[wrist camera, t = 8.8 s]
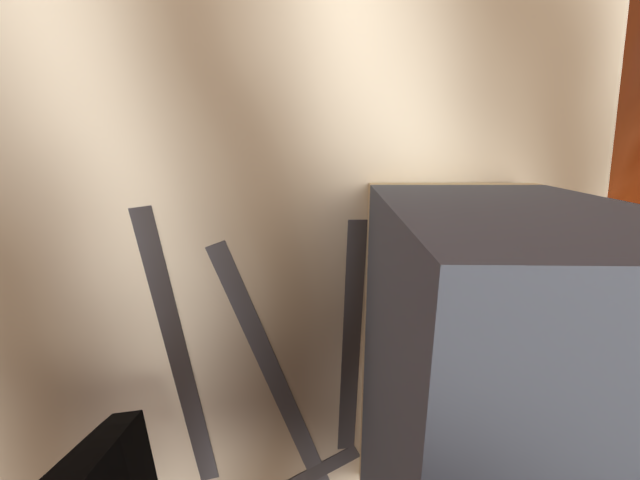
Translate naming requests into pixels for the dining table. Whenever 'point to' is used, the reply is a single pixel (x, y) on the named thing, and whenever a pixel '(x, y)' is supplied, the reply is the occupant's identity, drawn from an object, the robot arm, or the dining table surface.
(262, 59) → the pine board
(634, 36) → the dining table surface
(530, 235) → the block
